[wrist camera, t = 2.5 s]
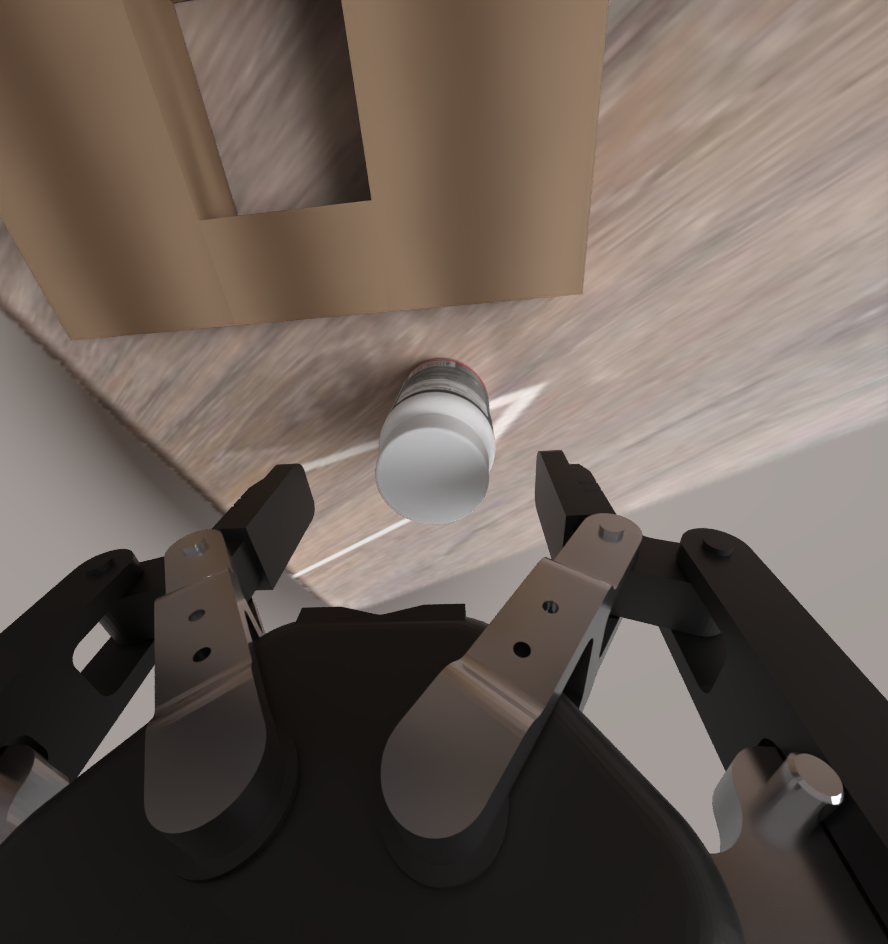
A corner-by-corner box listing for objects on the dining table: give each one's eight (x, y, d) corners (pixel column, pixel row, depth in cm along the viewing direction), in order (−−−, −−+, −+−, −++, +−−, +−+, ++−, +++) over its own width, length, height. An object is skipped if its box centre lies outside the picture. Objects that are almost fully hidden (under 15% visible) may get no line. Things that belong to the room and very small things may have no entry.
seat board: (603, -288, 10) (651, -477, 7) (564, 288, 17) (582, 294, 14) (-102, -131, 12) (-259, -237, 9) (124, 328, 19) (70, 340, 16)
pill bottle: (461, 453, 22) (458, 552, 14) (387, 416, 21) (345, 503, 14) (505, 383, 19) (528, 459, 12) (424, 338, 19) (398, 393, 11)
